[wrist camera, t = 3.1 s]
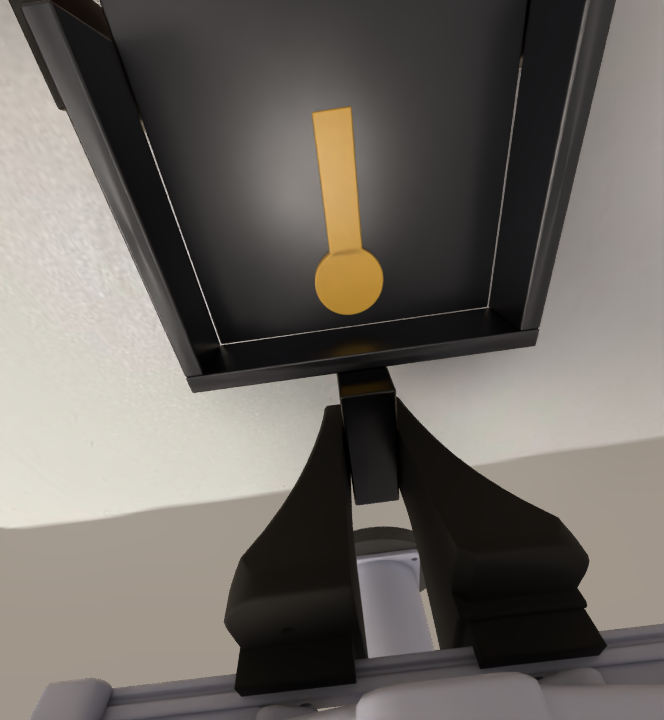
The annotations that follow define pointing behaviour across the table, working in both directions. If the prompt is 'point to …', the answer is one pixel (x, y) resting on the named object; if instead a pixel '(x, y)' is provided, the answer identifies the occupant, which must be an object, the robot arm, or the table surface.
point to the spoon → (342, 219)
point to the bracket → (92, 14)
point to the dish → (302, 180)
